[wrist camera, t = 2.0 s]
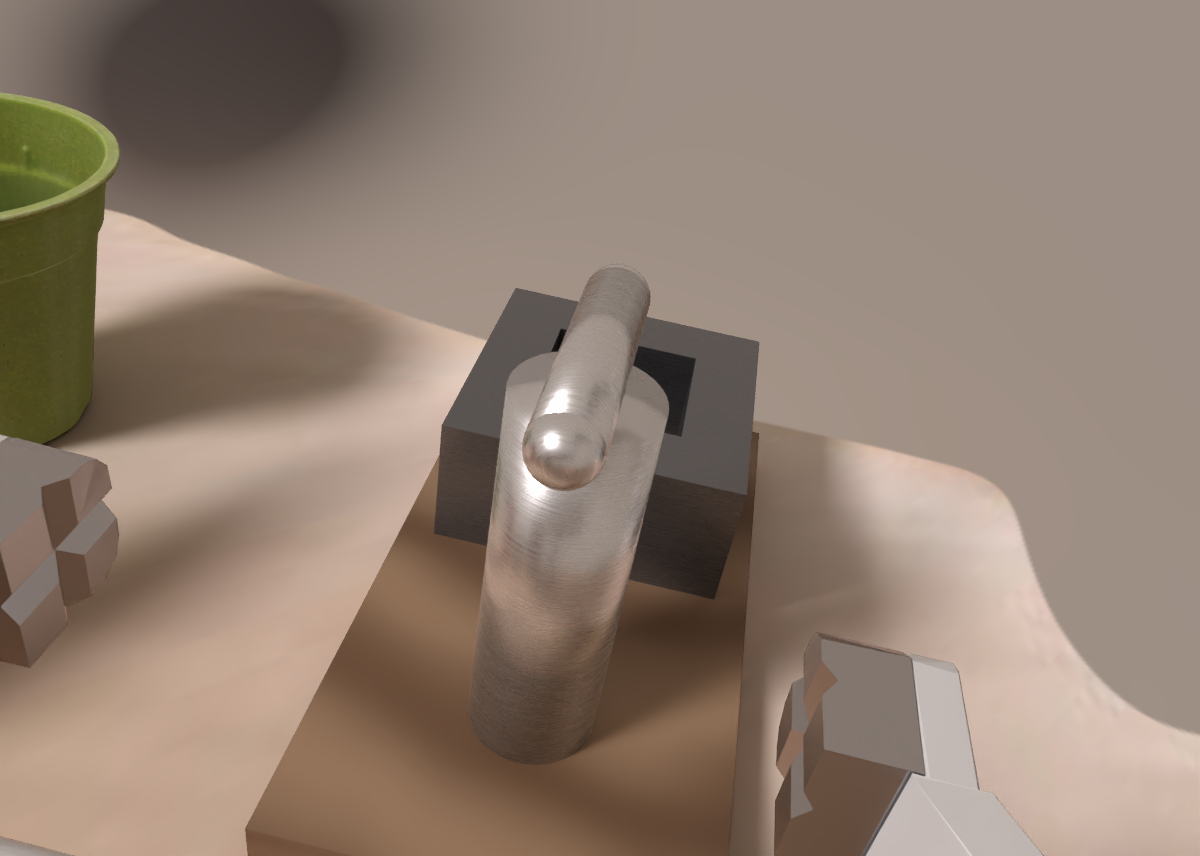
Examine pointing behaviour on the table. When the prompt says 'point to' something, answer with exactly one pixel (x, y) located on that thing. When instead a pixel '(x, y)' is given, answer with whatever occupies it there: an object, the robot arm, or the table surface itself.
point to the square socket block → (687, 455)
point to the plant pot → (48, 262)
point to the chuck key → (565, 525)
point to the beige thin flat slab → (479, 776)
